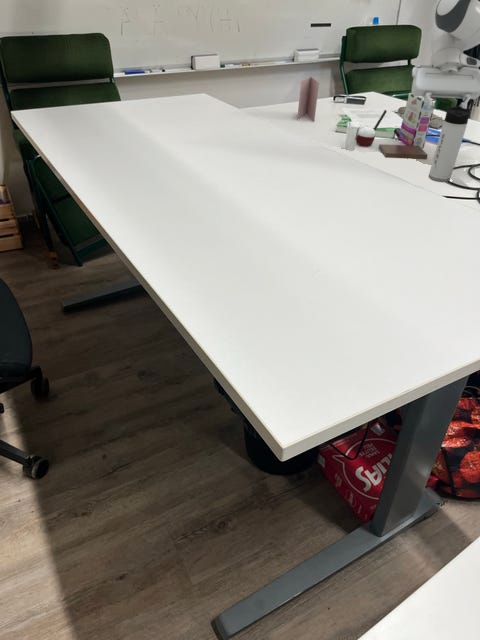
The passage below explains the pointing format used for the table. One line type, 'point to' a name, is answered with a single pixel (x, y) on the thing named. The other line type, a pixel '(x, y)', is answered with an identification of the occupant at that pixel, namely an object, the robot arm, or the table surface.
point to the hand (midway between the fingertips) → (447, 109)
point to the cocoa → (368, 133)
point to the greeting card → (308, 98)
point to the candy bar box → (415, 121)
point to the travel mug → (449, 144)
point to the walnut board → (402, 151)
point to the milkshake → (352, 135)
